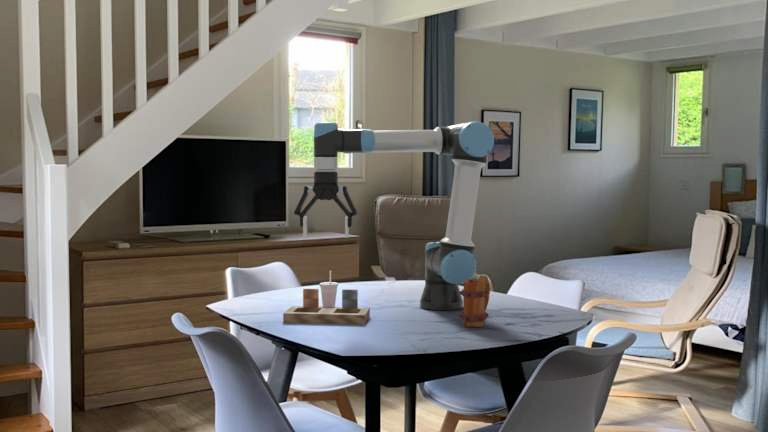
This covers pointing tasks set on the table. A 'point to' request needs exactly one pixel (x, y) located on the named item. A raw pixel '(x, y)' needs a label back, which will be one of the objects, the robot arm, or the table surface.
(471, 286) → the mug
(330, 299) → the smoothie
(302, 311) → the socket board
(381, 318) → the table surface
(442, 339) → the table surface
